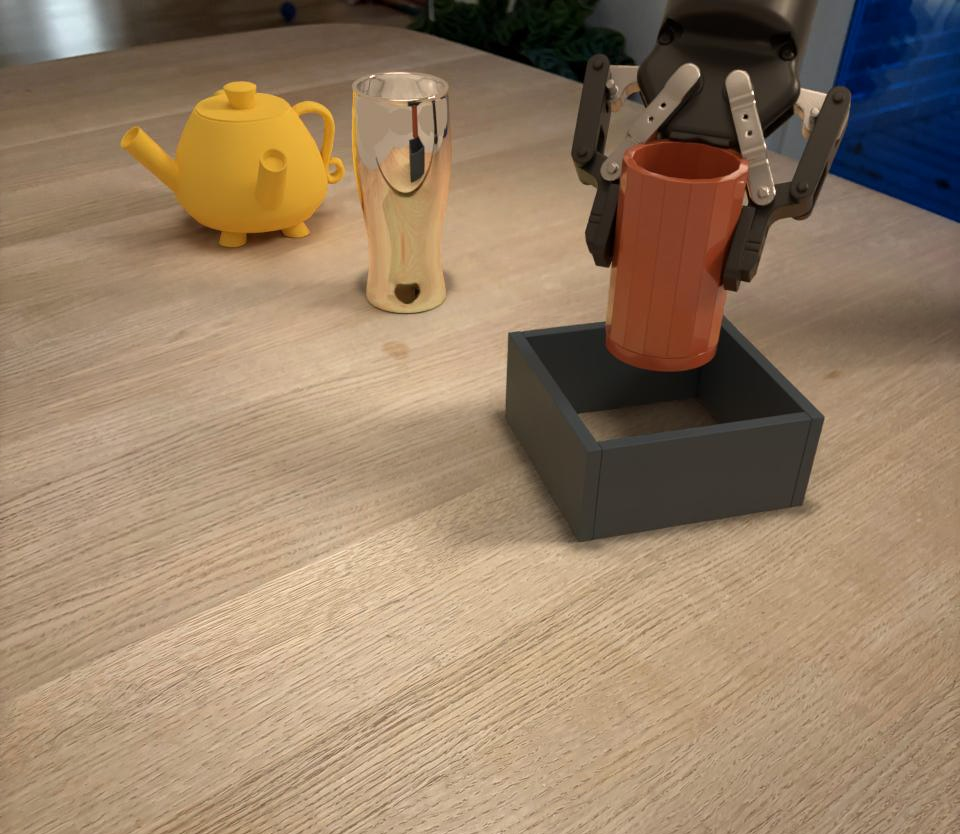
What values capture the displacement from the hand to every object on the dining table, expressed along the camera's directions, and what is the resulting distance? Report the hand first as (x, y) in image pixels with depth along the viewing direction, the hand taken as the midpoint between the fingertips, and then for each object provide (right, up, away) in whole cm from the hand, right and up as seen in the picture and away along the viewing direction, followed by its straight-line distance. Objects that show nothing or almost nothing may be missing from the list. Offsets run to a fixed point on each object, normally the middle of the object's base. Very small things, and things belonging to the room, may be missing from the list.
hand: (664, 272), depth 58 cm
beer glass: (-15, +7, +28) cm, 32 cm away
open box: (0, -9, +10) cm, 13 cm away
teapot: (-29, +15, +37) cm, 49 cm away
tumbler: (0, -3, +4) cm, 5 cm away
